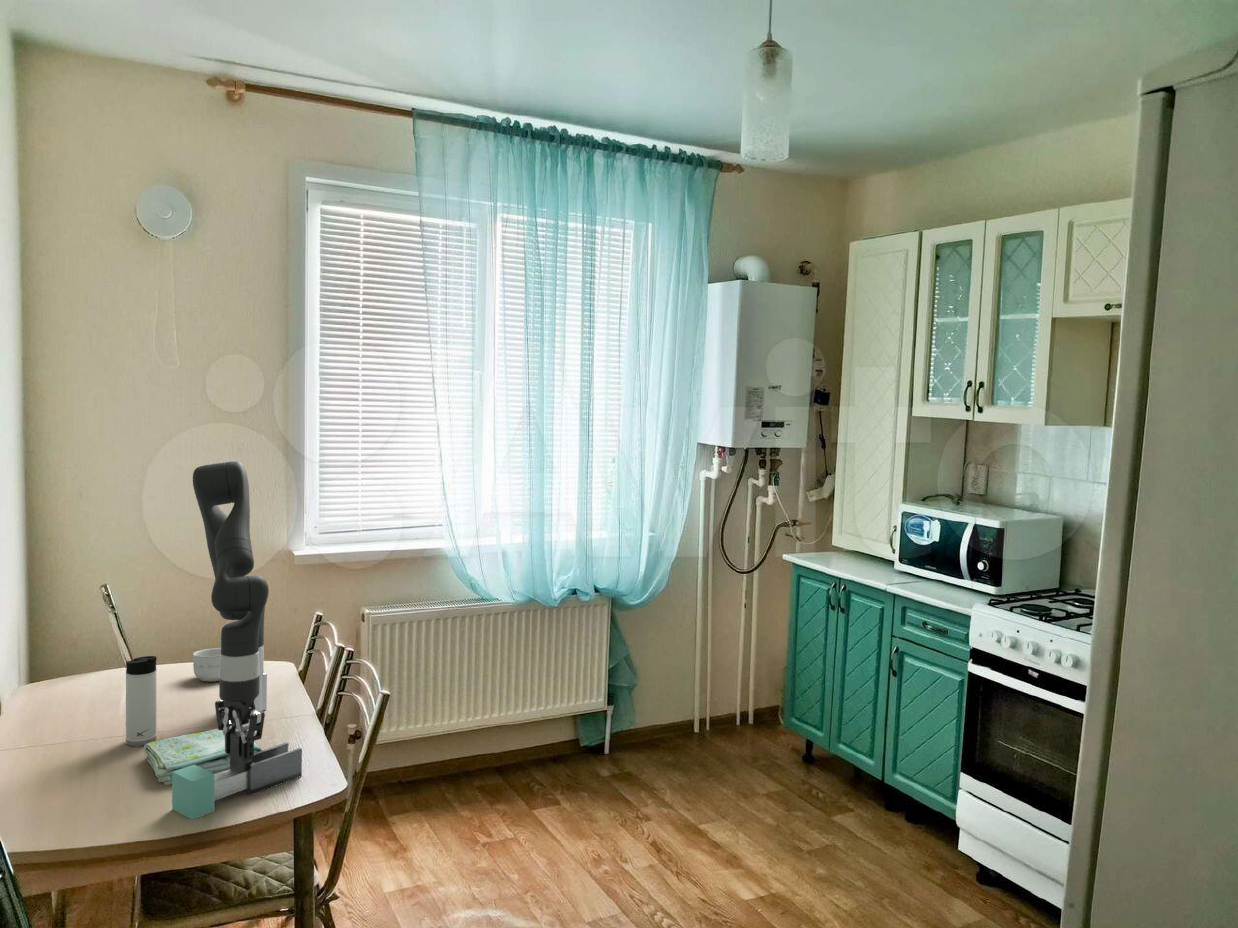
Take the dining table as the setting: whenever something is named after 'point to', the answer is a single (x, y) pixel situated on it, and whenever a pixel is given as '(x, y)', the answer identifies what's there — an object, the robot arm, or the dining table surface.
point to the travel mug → (141, 701)
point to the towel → (189, 753)
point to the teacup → (207, 664)
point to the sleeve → (274, 767)
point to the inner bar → (233, 770)
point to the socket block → (193, 791)
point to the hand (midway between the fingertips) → (239, 755)
